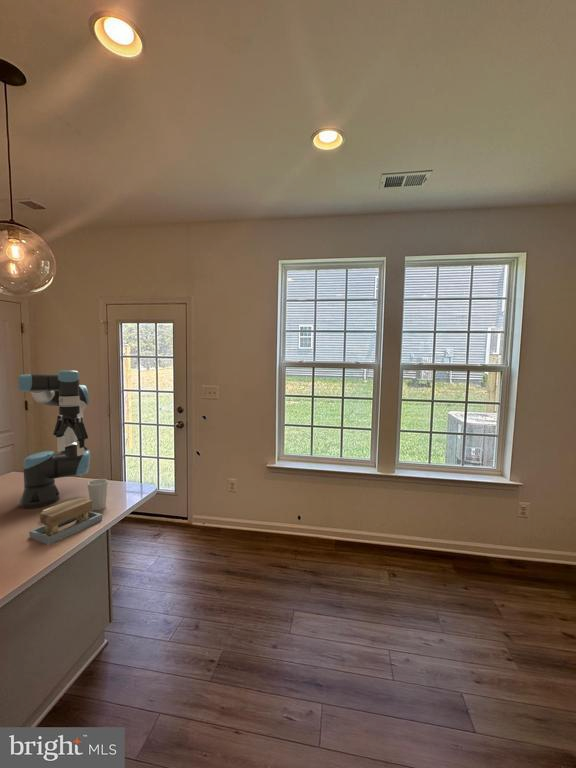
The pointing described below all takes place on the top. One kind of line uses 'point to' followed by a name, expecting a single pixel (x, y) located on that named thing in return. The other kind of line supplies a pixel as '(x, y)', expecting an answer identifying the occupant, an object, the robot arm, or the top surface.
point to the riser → (57, 505)
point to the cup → (98, 493)
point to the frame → (57, 536)
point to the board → (65, 512)
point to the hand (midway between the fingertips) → (70, 453)
